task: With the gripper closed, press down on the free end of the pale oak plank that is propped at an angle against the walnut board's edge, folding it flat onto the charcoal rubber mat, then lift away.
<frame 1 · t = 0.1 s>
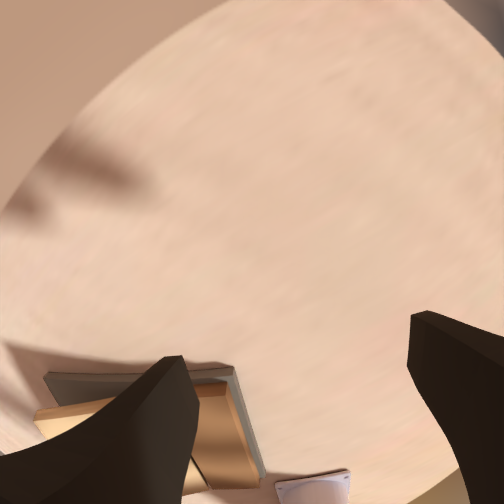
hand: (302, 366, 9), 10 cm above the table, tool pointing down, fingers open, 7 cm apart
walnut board: (220, 431, 22), resting on rubber mat
oak plank: (126, 459, 19), point 4 cm above the table, hinge at 20.0°
rubber mat: (154, 432, 23), on the table
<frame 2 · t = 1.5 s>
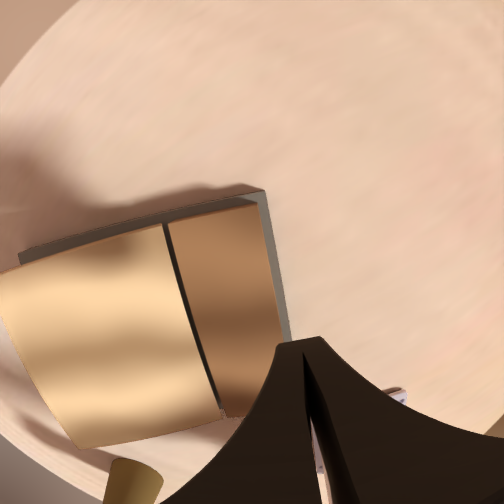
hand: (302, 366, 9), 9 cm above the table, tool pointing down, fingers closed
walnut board: (241, 312, 18), resting on rubber mat
oak plank: (106, 357, 15), point 4 cm above the table, hinge at 20.0°
cork: (137, 472, 24), on the table
rubber mat: (150, 325, 19), on the table
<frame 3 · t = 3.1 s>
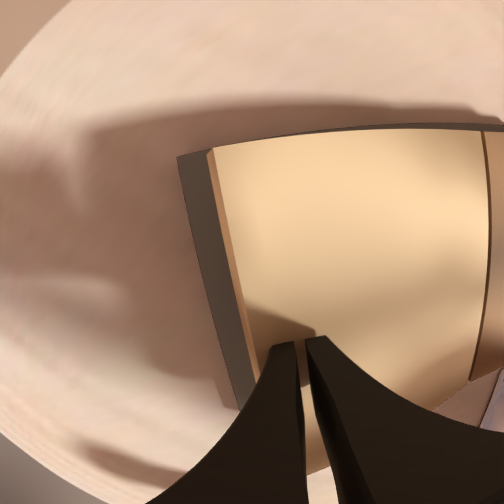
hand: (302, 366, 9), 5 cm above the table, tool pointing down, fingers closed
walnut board: (489, 252, 13), resting on rubber mat
oak plank: (394, 313, 10), point 3 cm above the table, hinge at 16.3°, touching gripper
rubber mat: (400, 275, 13), on the table
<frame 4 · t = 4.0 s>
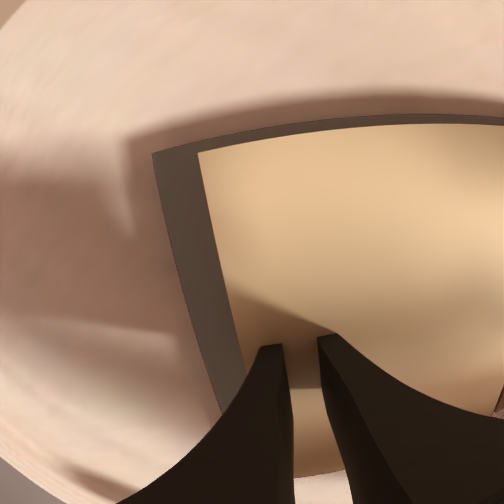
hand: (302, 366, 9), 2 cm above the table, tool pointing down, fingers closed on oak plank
oak plank: (408, 330, 9), point 2 cm above the table, hinge at -0.3°, touching gripper, rubber mat
rubber mat: (428, 299, 11), on the table
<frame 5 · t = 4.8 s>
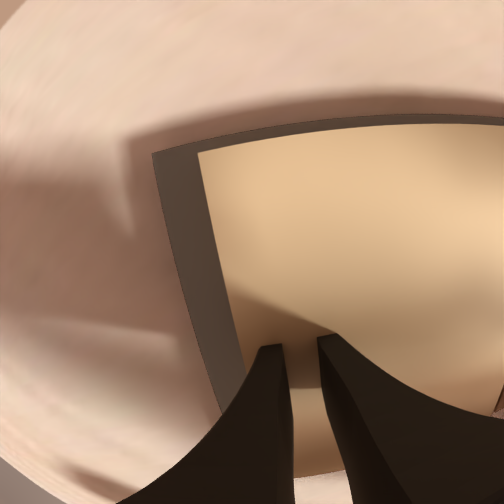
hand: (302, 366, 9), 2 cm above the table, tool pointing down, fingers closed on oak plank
oak plank: (408, 330, 9), point 2 cm above the table, hinge at -0.3°, touching gripper, rubber mat
rubber mat: (428, 298, 11), on the table
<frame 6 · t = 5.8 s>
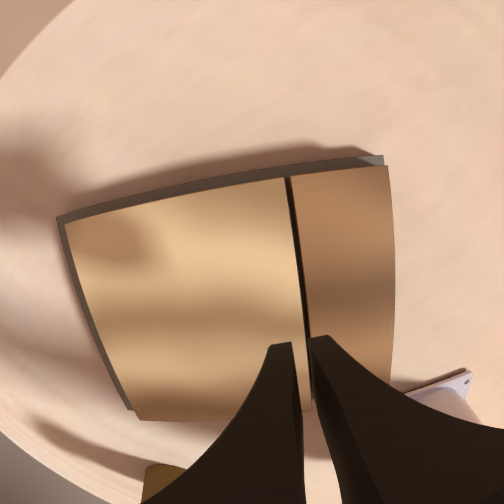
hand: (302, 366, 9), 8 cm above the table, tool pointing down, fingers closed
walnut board: (341, 288, 16), resting on rubber mat
oak plank: (194, 324, 15), point 2 cm above the table, hinge at -0.3°, touching rubber mat
cork: (175, 478, 22), on the table
rubber mat: (230, 305, 17), on the table
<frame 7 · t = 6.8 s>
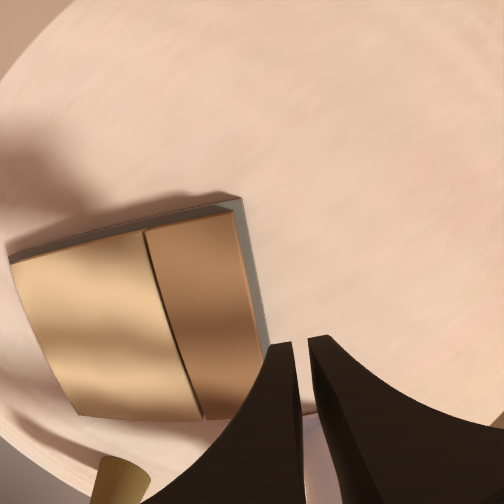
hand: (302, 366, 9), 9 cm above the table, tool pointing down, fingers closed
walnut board: (220, 318, 19), resting on rubber mat
oak plank: (101, 342, 17), point 2 cm above the table, hinge at -0.3°, touching rubber mat
cork: (125, 470, 24), on the table
rubber mat: (132, 328, 19), on the table
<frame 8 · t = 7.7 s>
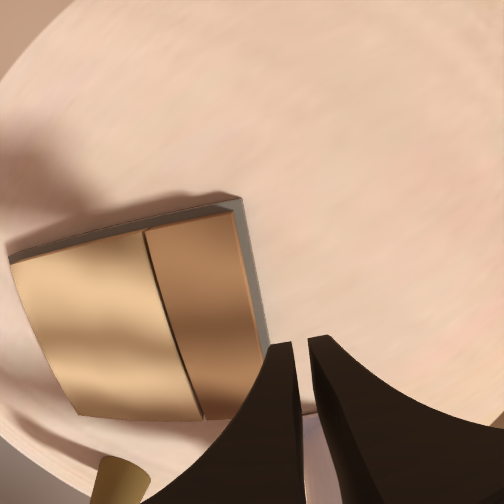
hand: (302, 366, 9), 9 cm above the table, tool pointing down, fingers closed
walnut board: (220, 318, 19), resting on rubber mat
oak plank: (101, 342, 17), point 2 cm above the table, hinge at -0.3°, touching rubber mat
cork: (125, 470, 24), on the table
rubber mat: (132, 328, 19), on the table
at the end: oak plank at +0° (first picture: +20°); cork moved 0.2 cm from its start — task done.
